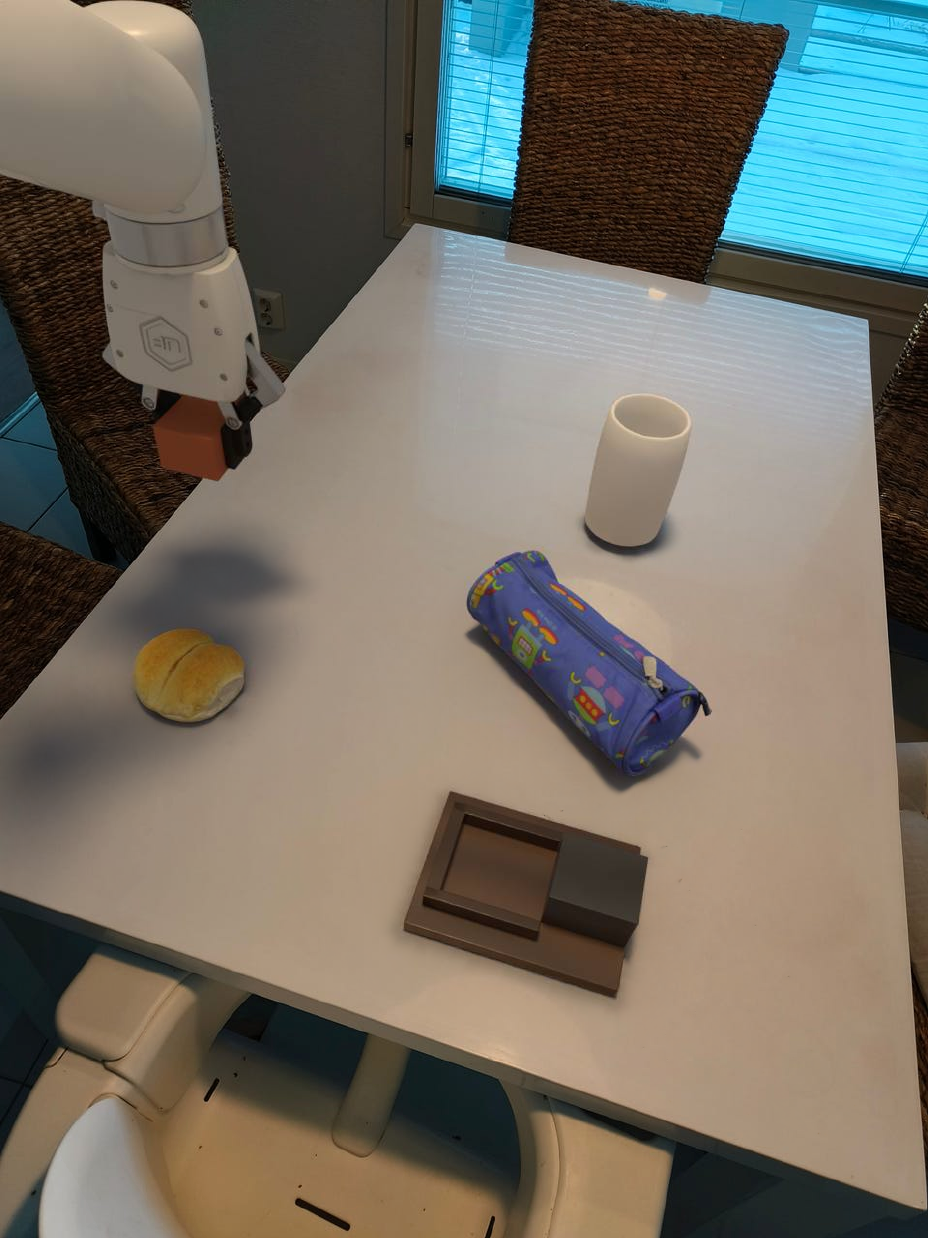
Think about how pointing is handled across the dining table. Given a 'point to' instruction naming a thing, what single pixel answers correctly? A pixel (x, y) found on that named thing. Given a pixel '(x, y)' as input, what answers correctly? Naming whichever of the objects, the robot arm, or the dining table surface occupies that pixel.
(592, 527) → the cup
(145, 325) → the robot arm
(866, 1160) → the dining table surface
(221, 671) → the bread roll
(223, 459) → the orange block
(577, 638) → the pencil case
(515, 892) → the brown wooden tray
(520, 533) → the dining table surface
